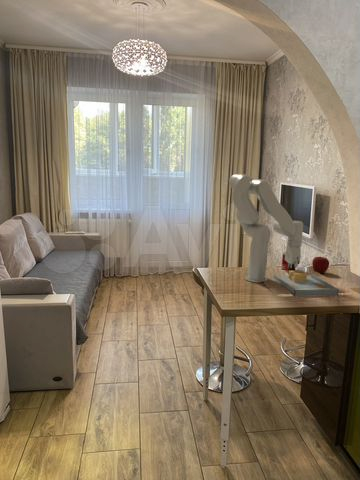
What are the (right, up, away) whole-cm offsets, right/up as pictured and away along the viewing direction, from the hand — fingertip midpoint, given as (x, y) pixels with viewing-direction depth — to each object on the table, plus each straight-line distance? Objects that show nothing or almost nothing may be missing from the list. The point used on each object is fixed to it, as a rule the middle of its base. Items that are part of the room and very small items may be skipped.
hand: (291, 274), depth 207 cm
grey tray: (+2, -5, -14) cm, 15 cm away
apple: (+21, 0, +13) cm, 25 cm away
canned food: (+3, +1, +15) cm, 16 cm away
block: (+1, -2, -7) cm, 7 cm away
